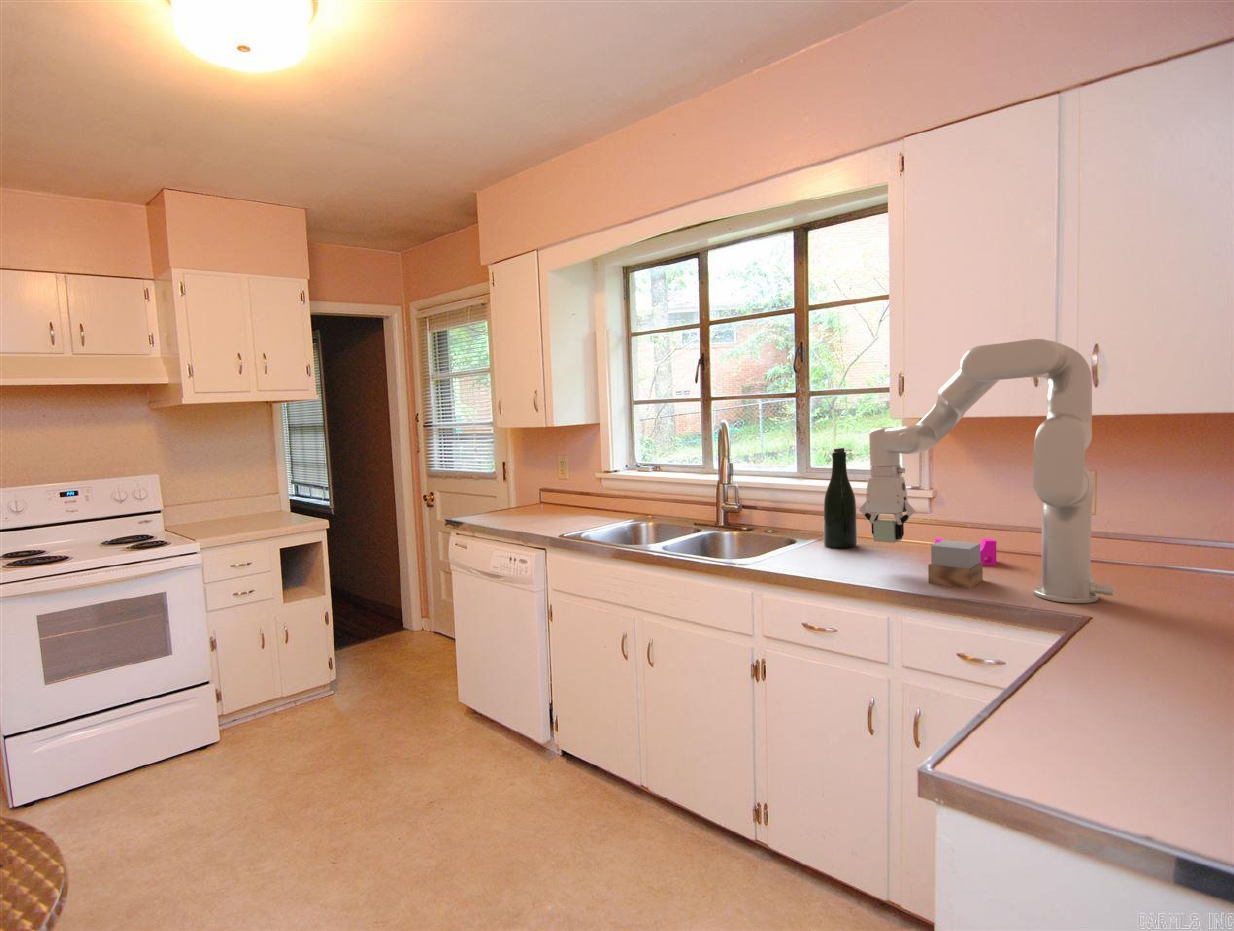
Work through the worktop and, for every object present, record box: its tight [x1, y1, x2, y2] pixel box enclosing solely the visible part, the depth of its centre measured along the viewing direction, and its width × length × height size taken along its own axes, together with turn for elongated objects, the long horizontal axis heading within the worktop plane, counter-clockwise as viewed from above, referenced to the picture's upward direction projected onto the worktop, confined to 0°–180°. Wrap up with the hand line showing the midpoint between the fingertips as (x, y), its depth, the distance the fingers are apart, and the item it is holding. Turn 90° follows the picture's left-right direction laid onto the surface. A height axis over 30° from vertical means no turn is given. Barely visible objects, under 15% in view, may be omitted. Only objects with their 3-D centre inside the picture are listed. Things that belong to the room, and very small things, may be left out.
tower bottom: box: [927, 562, 984, 590], centre depth 172 cm, size 10×10×5 cm
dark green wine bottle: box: [823, 447, 858, 550], centre depth 219 cm, size 10×10×33 cm
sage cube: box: [873, 518, 903, 544], centre depth 183 cm, size 6×6×6 cm
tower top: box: [930, 539, 981, 569], centre depth 172 cm, size 9×9×5 cm
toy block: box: [934, 537, 997, 566], centre depth 191 cm, size 15×6×8 cm, turn 75°
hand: (887, 537), depth 184 cm, fingers closed on sage cube, 5 cm apart
